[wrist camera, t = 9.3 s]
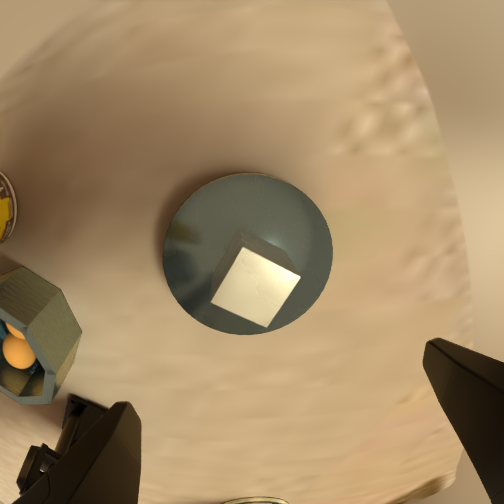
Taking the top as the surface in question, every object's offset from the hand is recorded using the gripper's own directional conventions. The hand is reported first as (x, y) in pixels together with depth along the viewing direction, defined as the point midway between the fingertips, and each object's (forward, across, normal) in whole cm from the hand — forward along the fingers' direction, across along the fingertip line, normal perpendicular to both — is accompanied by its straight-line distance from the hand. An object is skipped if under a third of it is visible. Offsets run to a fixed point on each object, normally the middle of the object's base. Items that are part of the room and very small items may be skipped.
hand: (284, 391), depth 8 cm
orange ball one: (+10, +19, +4) cm, 22 cm away
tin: (+12, +18, +2) cm, 21 cm away
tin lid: (+12, 0, 0) cm, 12 cm away
